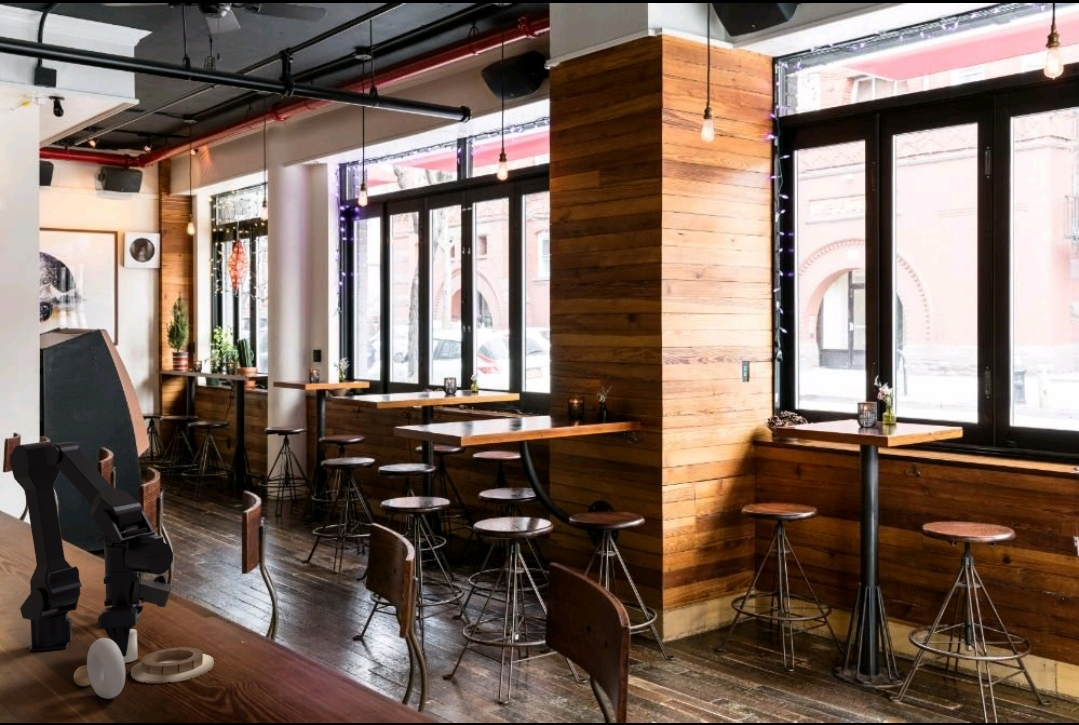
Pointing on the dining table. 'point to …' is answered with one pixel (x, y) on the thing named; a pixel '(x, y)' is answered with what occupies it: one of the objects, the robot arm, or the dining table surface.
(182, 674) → the tray
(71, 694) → the dining table surface
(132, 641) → the white cylinder
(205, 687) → the dining table surface
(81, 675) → the bead small
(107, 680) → the donut
